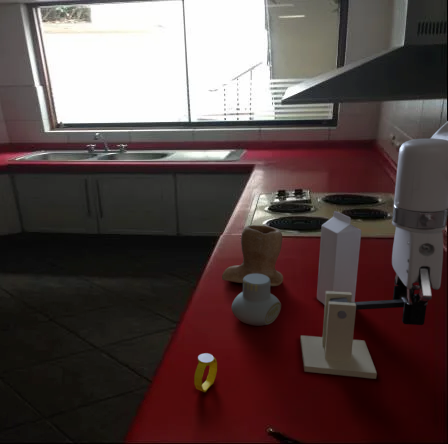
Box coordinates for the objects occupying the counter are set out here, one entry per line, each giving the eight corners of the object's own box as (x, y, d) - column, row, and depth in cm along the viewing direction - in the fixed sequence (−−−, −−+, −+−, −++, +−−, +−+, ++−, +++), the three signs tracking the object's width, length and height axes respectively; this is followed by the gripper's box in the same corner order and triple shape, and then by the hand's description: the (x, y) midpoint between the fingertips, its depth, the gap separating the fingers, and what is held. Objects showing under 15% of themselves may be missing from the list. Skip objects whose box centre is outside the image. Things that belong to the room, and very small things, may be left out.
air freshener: (260, 336, 87) (260, 293, 84) (226, 323, 93) (226, 282, 90) (284, 314, 95) (286, 274, 92) (252, 303, 100) (253, 265, 97)
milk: (338, 295, 102) (345, 208, 95) (354, 306, 96) (363, 215, 90) (315, 299, 101) (322, 211, 94) (331, 311, 95) (338, 219, 89)
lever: (407, 301, 75) (407, 289, 74) (416, 316, 71) (416, 303, 70) (330, 306, 79) (329, 294, 78) (334, 320, 74) (332, 308, 74)
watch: (205, 399, 71) (204, 370, 69) (190, 394, 72) (189, 365, 70) (221, 379, 75) (220, 351, 73) (207, 374, 77) (206, 346, 75)
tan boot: (285, 273, 115) (287, 222, 110) (280, 293, 105) (282, 237, 100) (231, 268, 121) (230, 218, 116) (221, 286, 110) (220, 232, 106)
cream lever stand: (364, 345, 82) (370, 287, 78) (376, 378, 73) (384, 314, 69) (300, 340, 85) (303, 283, 81) (304, 371, 76) (307, 309, 72)
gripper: (469, 234, 59) (451, 344, 65) (426, 202, 75) (415, 292, 80) (410, 234, 61) (397, 341, 66) (380, 202, 77) (372, 291, 82)
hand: (407, 313), depth 73 cm, fingers closed on lever, 5 cm apart
